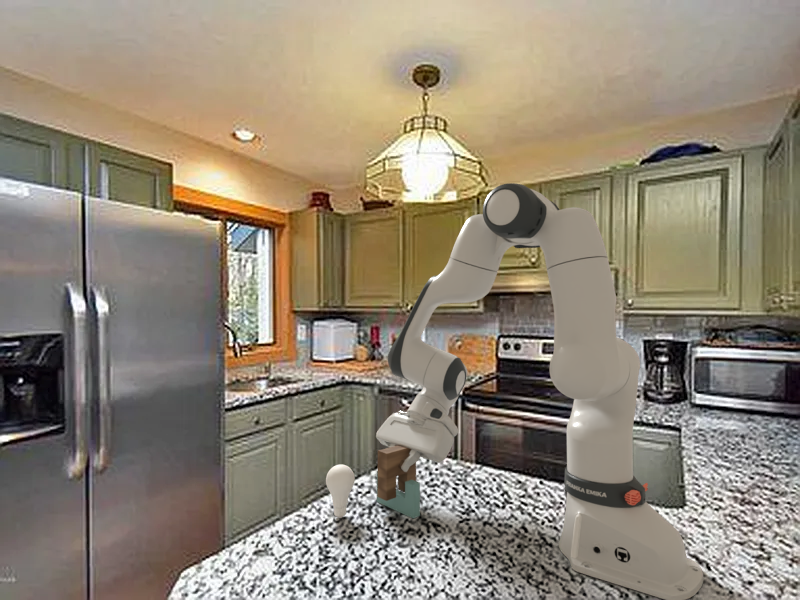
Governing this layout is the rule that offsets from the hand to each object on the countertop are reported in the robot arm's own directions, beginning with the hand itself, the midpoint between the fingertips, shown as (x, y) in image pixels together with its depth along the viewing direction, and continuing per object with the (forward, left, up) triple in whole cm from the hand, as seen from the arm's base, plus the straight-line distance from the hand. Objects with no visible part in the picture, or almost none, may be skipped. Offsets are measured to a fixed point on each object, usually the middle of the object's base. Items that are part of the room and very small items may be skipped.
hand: (395, 467), depth 100 cm
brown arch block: (0, -1, -6) cm, 6 cm away
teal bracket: (0, -1, -9) cm, 9 cm away
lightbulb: (+5, +11, -9) cm, 16 cm away
